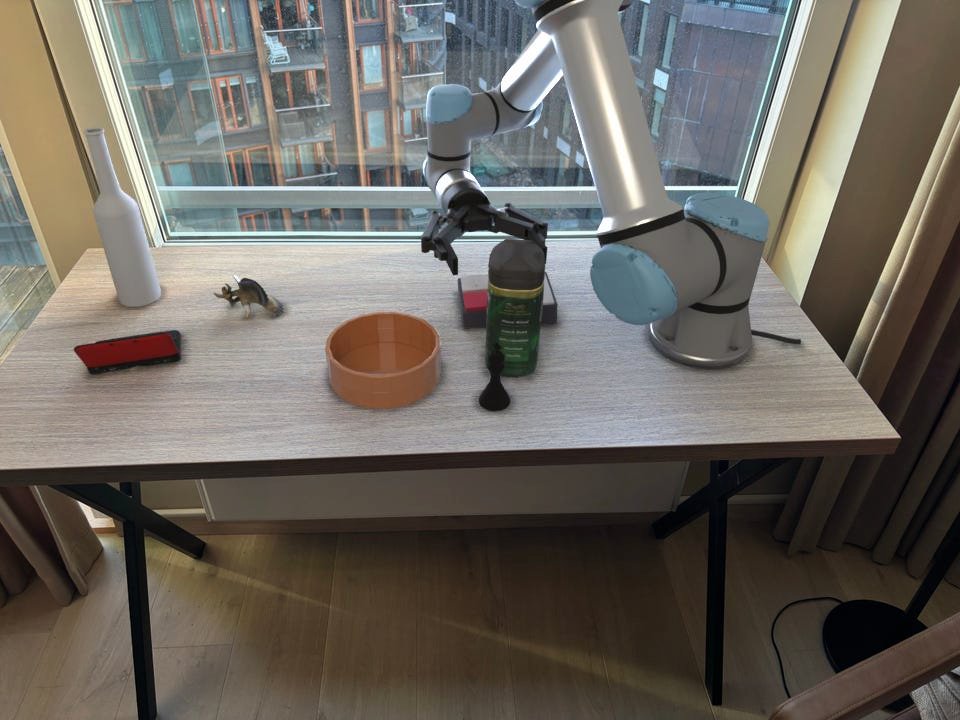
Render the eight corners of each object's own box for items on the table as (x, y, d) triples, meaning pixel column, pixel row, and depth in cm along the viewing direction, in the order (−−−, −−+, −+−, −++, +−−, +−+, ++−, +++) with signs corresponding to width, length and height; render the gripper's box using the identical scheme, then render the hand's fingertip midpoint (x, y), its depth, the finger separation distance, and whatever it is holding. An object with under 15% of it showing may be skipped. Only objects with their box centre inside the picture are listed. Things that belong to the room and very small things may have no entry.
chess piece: (494, 387, 109) (497, 329, 104) (516, 402, 107) (520, 343, 101) (472, 400, 107) (473, 341, 101) (494, 416, 104) (496, 356, 99)
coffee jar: (537, 382, 111) (546, 269, 100) (482, 378, 111) (485, 265, 100) (538, 343, 118) (547, 234, 107) (487, 340, 119) (490, 231, 108)
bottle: (168, 287, 129) (126, 123, 113) (149, 308, 124) (102, 139, 108) (131, 284, 130) (84, 120, 114) (111, 304, 125) (58, 136, 108)
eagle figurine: (215, 319, 120) (268, 315, 118) (211, 273, 120) (264, 268, 118) (239, 319, 127) (290, 315, 126) (235, 276, 127) (286, 271, 125)
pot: (453, 351, 116) (453, 320, 113) (421, 417, 104) (420, 385, 101) (354, 334, 119) (351, 304, 116) (311, 397, 107) (306, 366, 104)
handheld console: (181, 334, 119) (171, 293, 114) (181, 375, 110) (169, 333, 106) (94, 346, 115) (79, 304, 111) (86, 390, 107) (70, 346, 103)
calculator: (457, 273, 128) (546, 266, 129) (458, 295, 130) (545, 288, 131) (462, 309, 119) (558, 301, 120) (463, 332, 122) (557, 324, 123)
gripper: (531, 214, 134) (577, 273, 118) (390, 229, 128) (417, 294, 112) (534, 173, 130) (582, 229, 113) (388, 187, 124) (416, 248, 108)
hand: (500, 261), depth 113 cm, fingers open, 13 cm apart
